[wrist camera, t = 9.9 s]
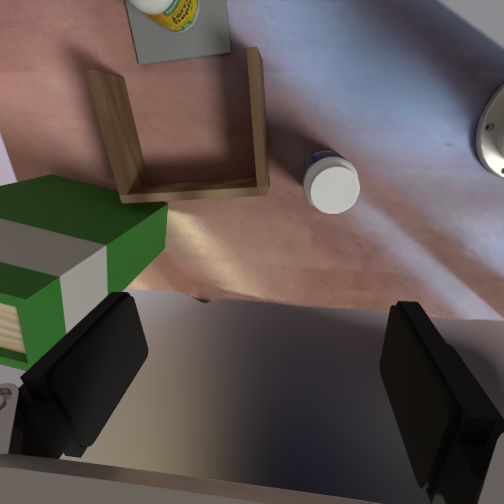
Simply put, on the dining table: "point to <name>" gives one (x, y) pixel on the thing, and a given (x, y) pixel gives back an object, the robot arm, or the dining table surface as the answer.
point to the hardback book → (66, 258)
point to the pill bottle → (330, 182)
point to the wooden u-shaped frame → (130, 155)
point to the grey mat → (181, 35)
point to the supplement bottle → (170, 12)
